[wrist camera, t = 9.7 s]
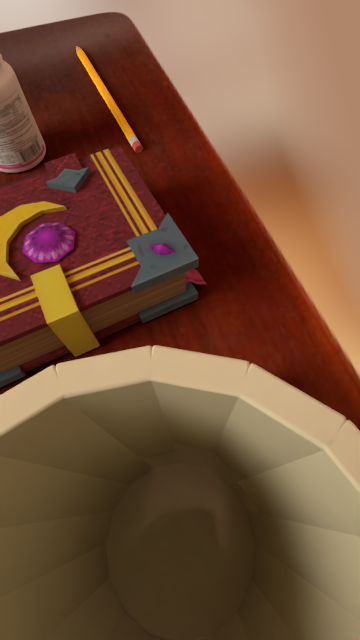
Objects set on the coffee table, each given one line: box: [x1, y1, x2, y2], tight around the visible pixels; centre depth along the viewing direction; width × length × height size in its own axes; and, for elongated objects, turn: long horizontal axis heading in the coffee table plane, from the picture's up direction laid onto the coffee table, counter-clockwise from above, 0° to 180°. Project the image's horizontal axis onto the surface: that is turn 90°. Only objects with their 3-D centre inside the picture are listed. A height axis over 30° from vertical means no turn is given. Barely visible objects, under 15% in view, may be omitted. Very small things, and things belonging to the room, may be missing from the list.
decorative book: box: [0, 145, 206, 387], centre depth 21 cm, size 11×16×5 cm
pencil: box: [76, 46, 143, 153], centre depth 33 cm, size 1×19×1 cm, turn 25°
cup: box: [0, 345, 360, 640], centre depth 8 cm, size 7×7×12 cm
